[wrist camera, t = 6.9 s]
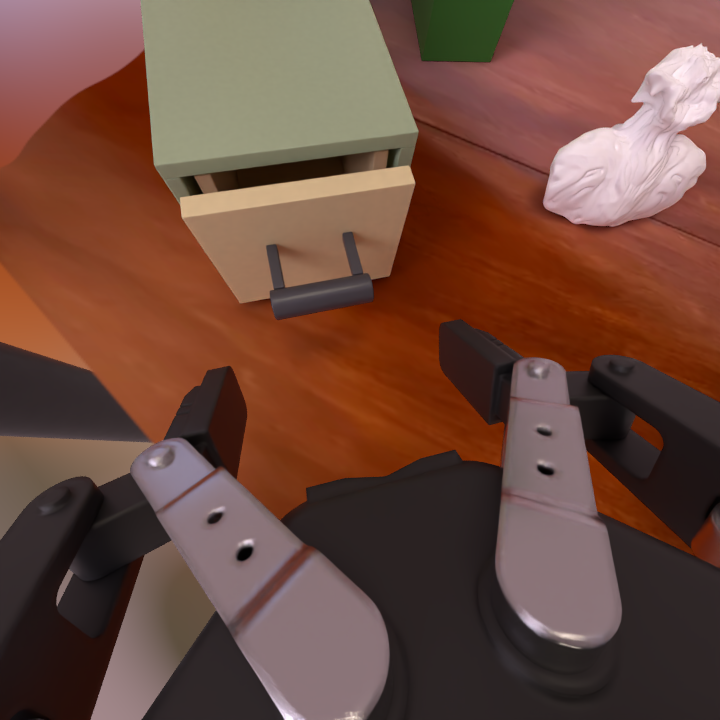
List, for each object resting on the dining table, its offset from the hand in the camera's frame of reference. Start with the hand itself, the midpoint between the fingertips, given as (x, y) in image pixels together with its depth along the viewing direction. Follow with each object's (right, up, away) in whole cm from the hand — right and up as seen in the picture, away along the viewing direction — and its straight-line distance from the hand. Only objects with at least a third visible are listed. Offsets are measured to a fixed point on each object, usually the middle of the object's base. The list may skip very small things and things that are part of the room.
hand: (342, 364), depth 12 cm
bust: (+22, +15, +17) cm, 31 cm away
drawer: (-4, +10, +13) cm, 16 cm away
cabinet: (-5, +14, +15) cm, 21 cm away
